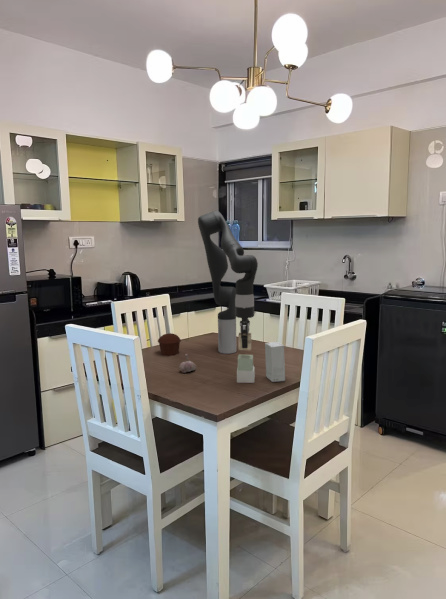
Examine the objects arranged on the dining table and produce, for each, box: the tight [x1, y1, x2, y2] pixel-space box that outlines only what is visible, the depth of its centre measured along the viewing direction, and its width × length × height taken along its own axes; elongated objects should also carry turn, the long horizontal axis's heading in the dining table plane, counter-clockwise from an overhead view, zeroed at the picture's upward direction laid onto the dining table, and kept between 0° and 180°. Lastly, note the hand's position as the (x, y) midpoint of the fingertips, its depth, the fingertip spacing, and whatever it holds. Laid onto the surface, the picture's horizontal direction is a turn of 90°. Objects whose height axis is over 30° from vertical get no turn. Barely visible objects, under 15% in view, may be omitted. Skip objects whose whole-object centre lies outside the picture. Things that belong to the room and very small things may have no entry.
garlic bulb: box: [178, 353, 197, 374], centre depth 199 cm, size 8×7×8 cm
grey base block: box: [236, 365, 256, 384], centre depth 186 cm, size 7×7×5 cm
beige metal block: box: [237, 332, 252, 351], centre depth 184 cm, size 5×5×6 cm
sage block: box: [237, 354, 254, 371], centre depth 185 cm, size 6×6×5 cm
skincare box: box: [264, 341, 286, 383], centre depth 186 cm, size 8×6×15 cm
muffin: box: [157, 332, 182, 357], centre depth 229 cm, size 12×11×10 cm
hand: (245, 346), depth 184 cm, fingers closed on beige metal block, 5 cm apart
